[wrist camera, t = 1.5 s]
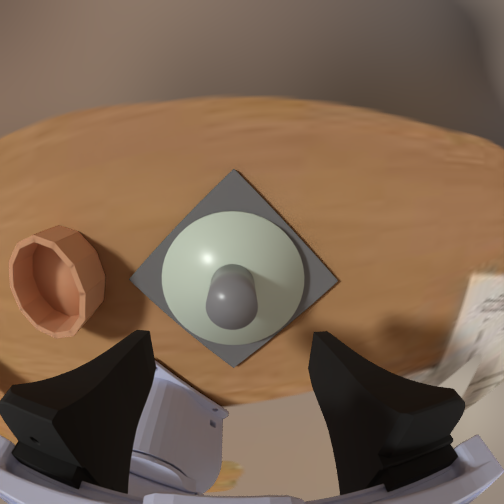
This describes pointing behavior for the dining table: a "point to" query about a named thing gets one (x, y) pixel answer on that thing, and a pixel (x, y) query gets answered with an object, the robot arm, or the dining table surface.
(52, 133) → the dining table surface
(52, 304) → the bowl
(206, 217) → the lid
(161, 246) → the mat
